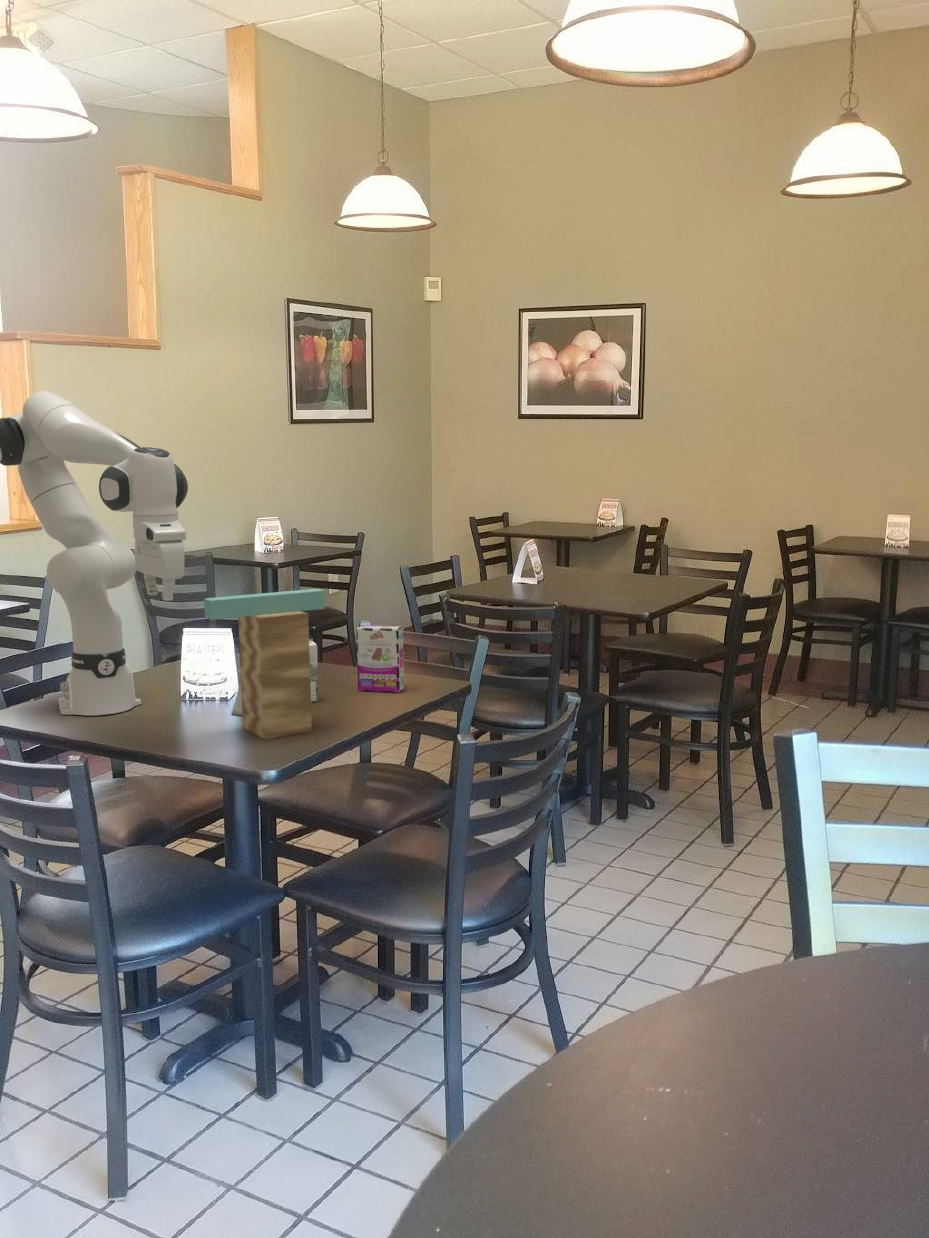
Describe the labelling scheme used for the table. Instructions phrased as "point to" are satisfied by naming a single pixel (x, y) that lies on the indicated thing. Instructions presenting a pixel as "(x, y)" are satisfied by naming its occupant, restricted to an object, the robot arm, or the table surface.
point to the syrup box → (313, 671)
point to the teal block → (264, 603)
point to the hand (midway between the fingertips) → (160, 597)
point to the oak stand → (275, 674)
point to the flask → (238, 701)
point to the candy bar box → (380, 659)
